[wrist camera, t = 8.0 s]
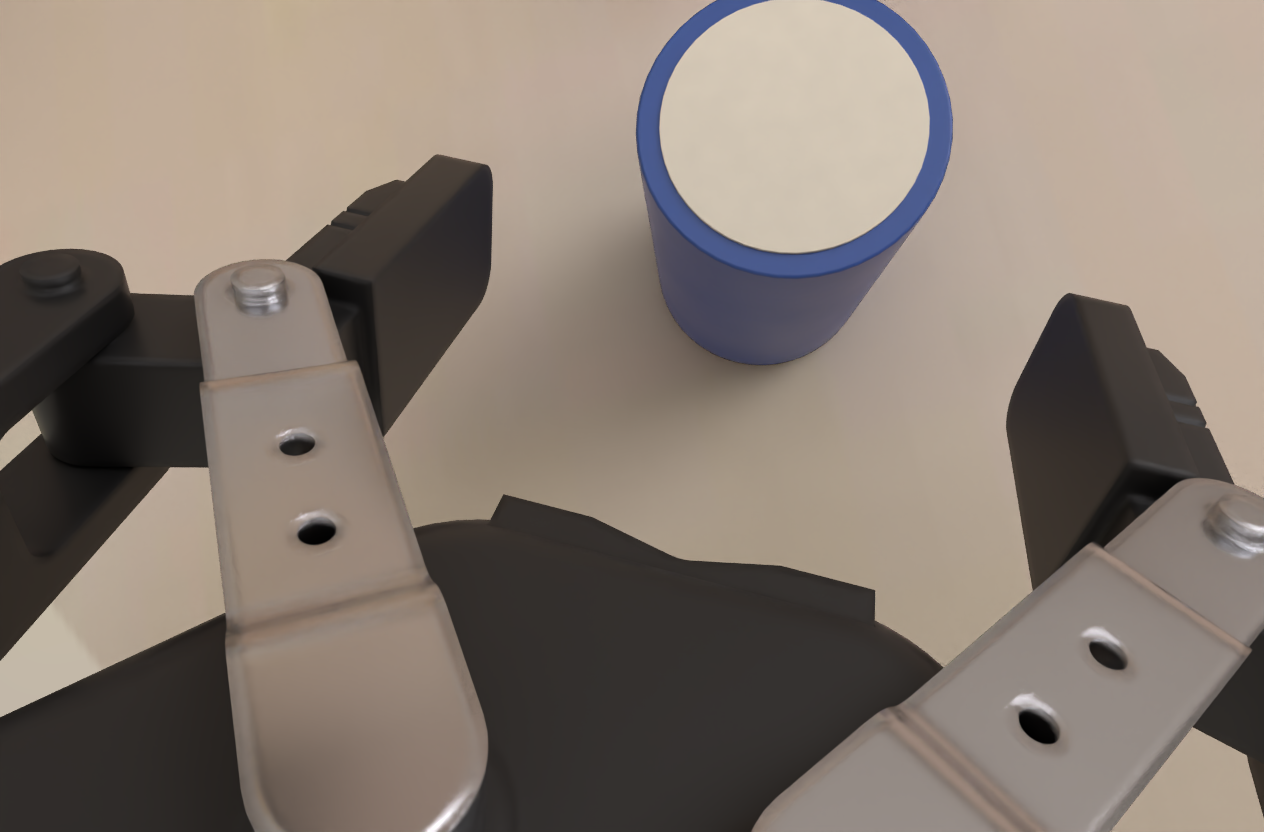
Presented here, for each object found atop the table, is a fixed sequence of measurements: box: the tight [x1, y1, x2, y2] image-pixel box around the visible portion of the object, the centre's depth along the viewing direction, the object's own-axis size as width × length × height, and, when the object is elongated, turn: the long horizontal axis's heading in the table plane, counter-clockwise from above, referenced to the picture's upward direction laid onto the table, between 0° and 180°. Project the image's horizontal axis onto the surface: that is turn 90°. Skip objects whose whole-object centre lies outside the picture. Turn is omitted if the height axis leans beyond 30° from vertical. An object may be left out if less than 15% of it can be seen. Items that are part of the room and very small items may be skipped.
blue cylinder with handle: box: [636, 0, 953, 365], centre depth 19 cm, size 5×10×8 cm, turn 166°
